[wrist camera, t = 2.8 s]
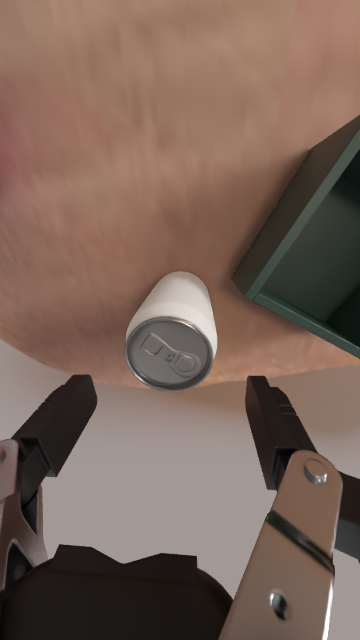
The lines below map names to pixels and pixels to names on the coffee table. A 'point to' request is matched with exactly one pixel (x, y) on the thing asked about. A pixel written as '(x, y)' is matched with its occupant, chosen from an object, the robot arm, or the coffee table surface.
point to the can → (172, 335)
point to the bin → (313, 245)
